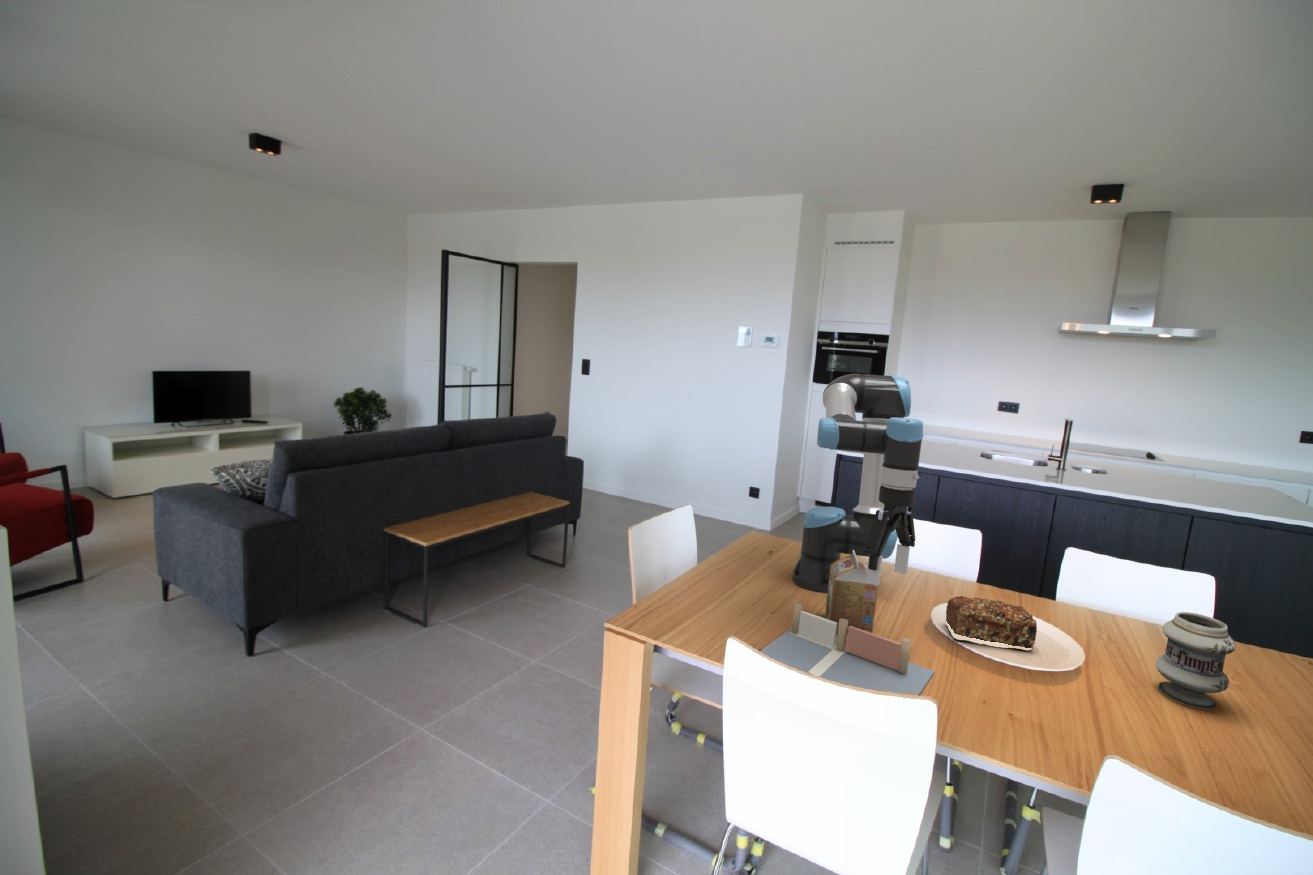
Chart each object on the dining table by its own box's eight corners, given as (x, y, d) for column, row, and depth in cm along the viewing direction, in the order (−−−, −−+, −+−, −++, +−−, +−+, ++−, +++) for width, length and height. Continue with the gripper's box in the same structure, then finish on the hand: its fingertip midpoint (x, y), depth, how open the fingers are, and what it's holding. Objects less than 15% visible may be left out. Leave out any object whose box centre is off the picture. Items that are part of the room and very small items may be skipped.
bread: (953, 642, 151) (958, 604, 149) (942, 623, 161) (947, 588, 160) (1035, 654, 147) (1041, 616, 145) (1019, 635, 157) (1025, 599, 156)
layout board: (798, 624, 155) (798, 622, 155) (934, 673, 135) (934, 670, 135) (756, 655, 138) (756, 653, 138) (904, 717, 118) (905, 714, 118)
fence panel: (844, 651, 140) (848, 622, 139) (847, 648, 142) (851, 619, 141) (905, 674, 132) (909, 643, 131) (908, 670, 133) (912, 639, 132)
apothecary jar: (1150, 675, 140) (1165, 602, 137) (1220, 696, 133) (1237, 620, 130) (1150, 696, 131) (1166, 619, 128) (1225, 720, 123) (1244, 639, 121)
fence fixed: (793, 630, 150) (796, 602, 149) (846, 649, 142) (849, 620, 141) (789, 632, 149) (792, 604, 148) (842, 652, 141) (846, 623, 139)
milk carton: (871, 638, 150) (880, 566, 147) (827, 631, 152) (836, 560, 149) (865, 619, 160) (874, 552, 157) (825, 614, 162) (832, 546, 159)
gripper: (888, 495, 123) (876, 594, 126) (937, 485, 141) (926, 572, 143) (854, 488, 129) (843, 583, 131) (906, 479, 146) (895, 563, 148)
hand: (886, 577), depth 137 cm, fingers open, 13 cm apart
